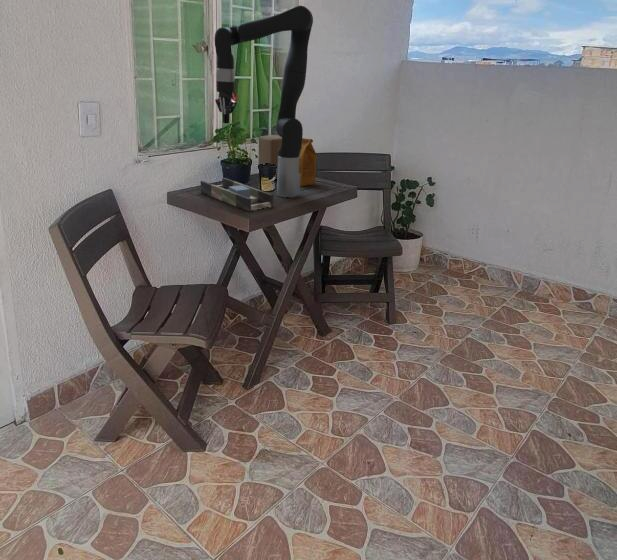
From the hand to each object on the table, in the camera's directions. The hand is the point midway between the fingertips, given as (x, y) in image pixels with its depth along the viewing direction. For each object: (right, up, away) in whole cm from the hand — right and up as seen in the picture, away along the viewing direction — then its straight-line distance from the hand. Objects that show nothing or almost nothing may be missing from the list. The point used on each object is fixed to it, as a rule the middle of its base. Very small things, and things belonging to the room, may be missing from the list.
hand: (226, 123), depth 238 cm
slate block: (+7, -33, -7) cm, 34 cm away
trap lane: (+5, -33, -3) cm, 33 cm away
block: (+17, -17, +37) cm, 44 cm away
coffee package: (+32, -21, +29) cm, 48 cm away
